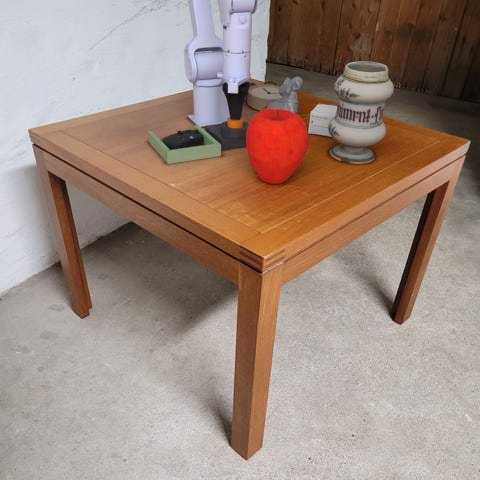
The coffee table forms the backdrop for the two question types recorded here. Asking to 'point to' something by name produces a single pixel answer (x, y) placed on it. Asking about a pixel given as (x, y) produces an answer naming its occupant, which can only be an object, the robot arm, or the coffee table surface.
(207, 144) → the dock
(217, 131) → the push button box
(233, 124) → the button
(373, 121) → the apothecary jar
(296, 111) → the figurine
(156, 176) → the coffee table surface
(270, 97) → the alarm clock
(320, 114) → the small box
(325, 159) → the coffee table surface
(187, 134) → the game controller
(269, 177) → the apple
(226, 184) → the coffee table surface
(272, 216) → the coffee table surface
